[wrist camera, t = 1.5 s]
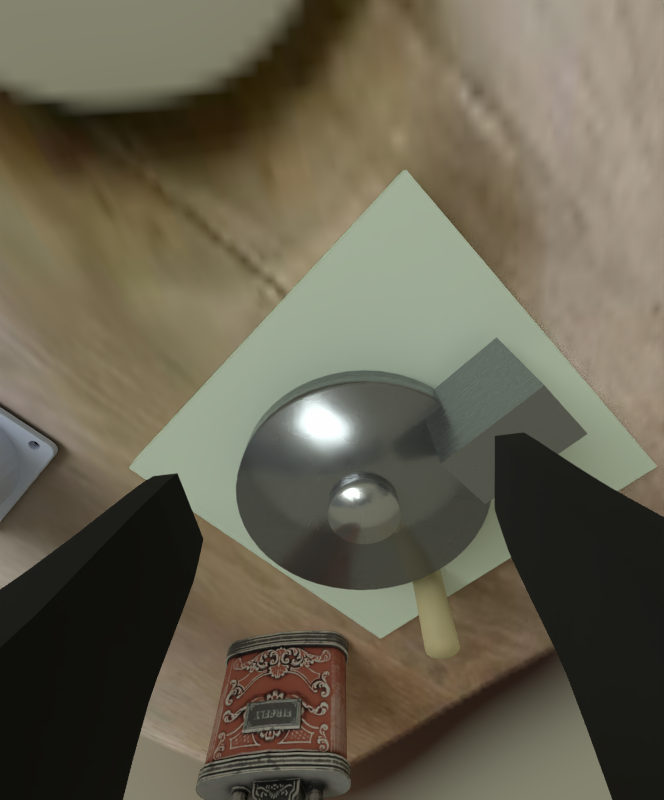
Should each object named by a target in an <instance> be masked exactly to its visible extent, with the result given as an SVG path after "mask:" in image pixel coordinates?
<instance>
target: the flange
mask: <svg viewBox="0 0 664 800" xmlns="http://www.w3.org/2000/svg"><path fill="white" fill-rule="evenodd" d="M523 432H524V433H526V434H528V435H529V436H531V437H532V438H534V439H536V440H537V441H539V442H540V443H542V444H543V445H545V446H546V447H548V448H549V449H551V450H552V451H554V452H555V453H557V454H559V453H561V452H562V451H563V450H565V449H566V448H568V447H569V446H571V445H572V444H574V443H575V442H577V441H578V440H580V439H581V438H582V437H584V436H585V435H587V434H588V433H587V432H586V431H585V430H584V429H583V428H582V427H581V426H580V425H579V423H578V422H577V421H576V420H575V419H574V418H573V417H572V416H571V414H570V413H569V412H568V411H567V410H566V409H565V408H564V407H563V406H562V404H561V403H560V402H559V401H558V400H557V399H556V398H555V397H554V395H553V394H552V393H551V392H550V391H549V390H548V389H547V388H546V387H545V385H544V384H543V383H542V382H541V381H540V380H539V379H538V378H537V377H536V376H535V375H534V374H533V373H532V372H531V371H530V370H529V369H528V368H527V367H526V366H525V365H524V364H523V363H522V362H521V361H520V360H519V359H518V358H517V357H516V356H515V355H514V354H513V353H512V352H511V351H510V350H509V349H508V348H507V347H506V346H505V345H504V344H503V343H502V342H501V341H500V340H499V339H498V338H497V337H496V338H495V339H494V340H493V341H491V342H490V343H489V344H488V345H487V346H485V347H484V348H483V349H482V350H481V351H479V352H478V353H477V354H476V355H475V356H473V357H472V358H471V359H470V360H469V361H467V362H466V363H465V364H464V365H463V366H461V367H460V368H459V369H458V370H457V371H455V372H454V373H453V374H452V375H451V376H449V377H448V378H447V379H446V380H445V381H443V382H442V383H441V384H440V385H439V386H437V387H436V388H435V389H434V388H432V387H431V386H428V385H426V384H424V383H422V382H420V381H418V380H415V379H412V378H409V377H406V376H403V375H400V374H395V373H389V372H383V371H369V370H360V371H346V372H341V373H335V374H330V375H327V376H323V377H320V378H317V379H314V380H311V381H309V382H307V383H305V384H303V385H301V386H299V387H297V388H295V389H293V390H292V391H290V392H289V393H287V394H286V395H284V396H283V397H282V398H280V399H279V400H278V401H277V402H276V403H274V404H273V405H272V406H271V407H270V408H269V409H268V410H267V412H266V413H265V414H264V415H263V416H262V417H261V419H260V420H259V422H258V423H257V425H256V426H255V428H254V429H253V431H252V434H251V436H250V438H249V440H248V443H247V445H246V448H245V451H244V454H243V457H242V460H241V463H240V467H239V470H238V474H237V482H236V499H237V505H238V510H239V514H240V517H241V519H242V522H243V524H244V527H245V528H246V530H247V532H248V534H249V535H250V537H251V539H252V540H253V541H254V542H255V544H256V545H257V546H258V548H259V549H260V550H261V551H262V552H263V553H264V554H265V555H266V556H267V557H268V558H270V559H271V560H272V561H274V562H275V563H276V564H277V565H279V566H280V567H282V568H283V569H285V570H287V571H288V572H290V573H292V574H294V575H296V576H298V577H300V578H303V579H305V580H308V581H311V582H314V583H316V584H320V585H324V586H328V587H333V588H340V589H348V590H376V589H383V588H391V587H395V586H399V585H404V584H407V583H410V582H413V581H416V580H419V579H421V578H423V577H426V576H428V575H430V574H432V573H434V572H436V571H437V570H439V569H441V568H442V567H444V566H446V565H447V564H448V563H450V562H451V561H452V560H454V559H455V558H456V557H457V556H458V555H460V554H461V553H462V552H463V551H464V550H465V549H466V548H467V547H468V546H469V544H470V543H471V542H472V541H473V540H474V538H475V537H476V535H477V534H478V532H479V531H480V529H481V527H482V526H483V523H484V521H485V519H486V516H487V514H488V511H489V507H490V503H491V500H492V499H494V498H495V436H498V435H506V434H514V433H523Z"/></svg>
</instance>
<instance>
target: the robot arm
mask: <svg viewBox="0 0 664 800" xmlns="http://www.w3.org/2000/svg"><path fill="white" fill-rule="evenodd" d="M34 441H35V442H37V443H38V444H39V445H37V444H35V443H34ZM57 452H58V448H57V446H56V444H55V443H53V442H52V441H51V440H49V439H48V438H46V437H45V436H43V435H42V434H40V433H39V432H37V431H36V430H34V429H33V428H31V427H29V426H28V425H26V424H25V423H23V422H22V421H20V420H19V419H17V418H16V417H14V416H13V415H11V414H10V413H8V412H7V411H5V410H4V409H2V408H1V407H0V522H1V521H2V519H3V518H4V517H5V516H6V515H7V513H8V512H9V511H10V510H11V508H12V507H13V506H14V505H15V504H16V502H17V501H18V500H19V499H20V498H21V496H22V495H23V494H24V493H25V491H26V490H27V489H28V488H29V487H30V485H31V484H32V483H33V482H34V481H35V479H36V478H37V477H38V476H39V474H40V473H41V472H42V471H43V470H44V468H45V467H46V466H47V465H48V464H49V462H50V461H51V460H52V459H53V457H54V456H55V455H56V454H57ZM495 512H496V515H497V519H498V522H499V525H500V528H501V531H502V534H503V537H504V540H505V543H506V545H507V548H508V551H509V553H510V555H511V558H512V560H513V562H514V564H515V566H516V568H517V570H518V572H519V575H520V577H521V579H522V581H523V583H524V585H525V587H526V589H527V591H528V593H529V595H530V598H531V600H532V602H533V604H534V606H535V608H536V610H537V612H538V614H539V616H540V618H541V620H542V622H543V624H544V627H545V629H546V631H547V633H548V635H549V637H550V639H551V641H552V643H553V645H554V647H555V649H556V651H557V654H558V656H559V658H560V661H561V663H562V665H563V667H564V670H565V672H566V674H567V677H568V679H569V682H570V685H571V687H572V690H573V693H574V695H575V698H576V700H577V703H578V706H579V709H580V711H581V714H582V717H583V719H584V722H585V725H586V727H587V730H588V733H589V735H590V738H591V741H592V744H593V746H594V749H595V752H596V755H597V758H598V761H599V763H600V766H601V769H602V772H603V774H604V777H605V780H606V783H607V786H608V788H609V791H610V794H611V797H612V800H664V517H662V516H661V515H659V514H657V513H655V512H653V511H651V510H650V509H648V508H646V507H644V506H642V505H641V504H639V503H637V502H635V501H633V500H632V499H630V498H628V497H626V496H624V495H623V494H621V493H619V492H618V491H616V490H614V489H613V488H611V487H609V486H608V485H606V484H604V483H603V482H601V481H599V480H598V479H596V478H594V477H593V476H591V475H590V474H588V473H586V472H585V471H583V470H582V469H580V468H579V467H577V466H575V465H574V464H572V463H571V462H569V461H568V460H566V459H565V458H563V457H562V456H560V455H558V454H557V453H555V452H554V451H552V450H551V449H549V448H548V447H546V446H545V445H543V444H542V443H540V442H539V441H537V440H536V439H534V438H532V437H531V436H529V435H528V434H526V433H524V432H523V433H514V434H506V435H498V436H495ZM202 543H203V537H202V534H201V532H200V529H199V527H198V524H197V522H196V519H195V517H194V514H193V511H192V509H191V506H190V504H189V501H188V499H187V496H186V494H185V491H184V488H183V486H182V483H181V481H180V478H179V476H178V473H175V474H167V475H158V476H152V477H151V478H149V479H148V480H146V481H145V482H143V483H142V484H140V485H139V486H138V487H136V488H135V489H134V490H132V491H131V492H130V493H128V494H127V495H126V496H124V497H123V498H122V499H121V500H119V501H118V502H117V503H116V504H114V505H113V506H112V507H110V508H109V509H108V510H107V511H105V512H104V513H103V514H102V515H100V516H99V517H98V518H96V519H95V520H94V521H93V522H91V523H90V524H89V525H88V526H86V527H85V528H84V529H82V530H81V531H80V532H79V533H77V534H76V535H75V536H74V537H72V538H71V539H70V540H68V541H67V542H66V543H64V544H63V545H61V546H60V547H59V548H57V549H56V550H55V551H53V552H52V553H51V554H49V555H48V556H47V557H45V558H44V559H43V560H41V561H40V562H39V563H37V564H36V565H34V566H33V567H32V568H30V569H29V570H28V571H26V572H25V573H24V574H22V575H21V576H19V577H18V578H16V579H15V580H14V581H12V582H11V583H9V584H8V585H6V586H5V587H3V588H2V589H0V800H123V797H124V793H125V789H126V785H127V781H128V776H129V773H130V769H131V765H132V761H133V756H134V753H135V750H136V746H137V742H138V739H139V735H140V732H141V728H142V725H143V721H144V717H145V714H146V710H147V707H148V703H149V700H150V697H151V694H152V691H153V688H154V685H155V682H156V679H157V677H158V674H159V671H160V669H161V666H162V664H163V661H164V658H165V656H166V653H167V650H168V648H169V645H170V643H171V640H172V637H173V635H174V632H175V630H176V627H177V624H178V622H179V619H180V616H181V614H182V611H183V608H184V606H185V603H186V600H187V598H188V595H189V592H190V589H191V587H192V584H193V581H194V577H195V573H196V569H197V565H198V561H199V557H200V552H201V547H202Z"/></svg>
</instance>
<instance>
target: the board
mask: <svg viewBox="0 0 664 800" xmlns="http://www.w3.org/2000/svg"><path fill="white" fill-rule="evenodd" d="M496 337H497V338H498V339H499V340H500V341H501V342H502V343H503V344H504V345H505V346H506V347H507V348H508V349H509V350H510V351H511V352H512V353H513V354H514V355H515V356H516V357H517V358H518V359H519V360H520V361H521V362H522V363H523V364H524V365H525V366H526V367H527V368H528V369H529V370H530V371H531V372H532V373H533V374H534V375H535V376H536V377H537V378H538V379H539V380H540V381H541V382H542V383H543V384H544V385H545V387H546V388H547V389H548V390H549V391H550V392H551V393H552V394H553V395H554V397H555V398H556V399H557V400H558V401H559V402H560V403H561V404H562V406H563V407H564V408H565V409H566V410H567V411H568V412H569V413H570V414H571V416H572V417H573V418H574V419H575V420H576V421H577V422H578V423H579V425H580V426H581V427H582V428H583V429H584V430H585V431H586V432H587V433H588V434H587V435H585V436H584V437H582V438H581V439H580V440H578V441H577V442H575V443H574V444H572V445H571V446H569V447H568V448H566V449H565V450H563V451H562V452H561V453H559V454H558V455H560V456H562V457H563V458H565V459H566V460H568V461H569V462H571V463H572V464H574V465H575V466H577V467H579V468H580V469H582V470H583V471H585V472H586V473H588V474H590V475H591V476H593V477H594V478H596V479H598V480H599V481H601V482H603V483H604V484H606V485H608V486H609V487H611V488H613V489H614V490H616V491H619V490H620V489H622V488H624V487H625V486H627V485H628V484H630V483H632V482H633V481H635V480H636V479H638V478H640V477H641V476H643V475H644V474H646V473H648V472H649V471H651V470H652V469H654V468H656V467H657V466H656V464H655V463H654V462H653V461H652V460H651V458H650V457H649V456H648V455H647V454H646V453H645V451H644V450H643V449H642V448H641V447H640V445H639V444H638V443H637V442H636V441H635V440H634V438H633V437H632V436H631V435H630V434H629V432H628V431H627V430H626V429H625V428H624V427H623V425H622V424H621V423H620V422H619V421H618V419H617V418H616V417H615V416H614V415H613V414H612V412H611V411H610V410H609V409H608V408H607V406H606V405H605V404H604V403H603V402H602V401H601V399H600V398H599V397H598V396H597V395H596V393H595V392H594V391H593V390H592V389H591V388H590V386H589V385H588V384H587V383H586V382H585V380H584V379H583V378H582V377H581V376H580V375H579V373H578V372H577V371H576V370H575V369H574V367H573V366H572V365H571V364H570V363H569V362H568V360H567V359H566V358H565V357H564V356H563V354H562V353H561V352H560V351H559V350H558V349H557V347H556V346H555V345H554V344H553V343H552V341H551V340H550V339H549V338H548V337H547V336H546V334H545V333H544V332H543V331H542V330H541V328H540V327H539V326H538V325H537V324H536V323H535V321H534V320H533V319H532V318H531V317H530V315H529V314H528V313H527V312H526V311H525V310H524V308H523V307H522V306H521V305H520V304H519V302H518V301H517V300H516V299H515V298H514V297H513V295H512V294H511V293H510V292H509V291H508V289H507V288H506V287H505V286H504V285H503V284H502V282H501V281H500V280H499V279H498V278H497V276H496V275H495V274H494V273H493V272H492V271H491V269H490V268H489V267H488V266H487V265H486V263H485V262H484V261H483V260H482V259H481V258H480V256H479V255H478V254H477V253H476V252H475V250H474V249H473V248H472V247H471V246H470V245H469V243H468V242H467V241H466V240H465V239H464V237H463V236H462V235H461V234H460V233H459V232H458V230H457V229H456V228H455V227H454V226H453V224H452V223H451V222H450V221H449V220H448V219H447V217H446V216H445V215H444V214H443V213H442V211H441V210H440V209H439V208H438V207H437V206H436V204H435V203H434V202H433V201H432V200H431V198H430V197H429V196H428V195H427V194H426V193H425V191H424V190H423V189H422V188H421V187H420V185H419V184H418V183H417V182H416V181H415V180H414V178H413V177H412V176H411V175H410V174H409V172H408V171H407V170H403V171H402V172H401V173H400V174H399V175H398V176H397V177H396V178H395V179H394V180H393V181H392V182H391V184H390V185H389V186H388V187H387V188H386V189H385V190H384V191H383V192H382V193H381V194H380V195H379V196H378V198H377V199H376V200H375V201H374V202H373V203H372V204H371V205H370V206H369V207H368V208H367V209H366V210H365V212H364V213H363V214H362V215H361V216H360V217H359V218H358V219H357V220H356V221H355V222H354V223H353V224H352V226H351V227H350V228H349V229H348V230H347V231H346V232H345V233H344V234H343V235H342V236H341V237H340V238H339V240H338V241H337V242H336V243H335V244H334V245H333V246H332V247H331V248H330V249H329V250H328V251H327V252H326V254H325V255H324V256H323V257H322V258H321V259H320V260H319V261H318V262H317V263H316V264H315V265H314V266H313V268H312V269H311V270H310V271H309V272H308V273H307V274H306V275H305V276H304V277H303V278H302V279H301V280H300V282H299V283H298V284H297V285H296V286H295V287H294V288H293V289H292V290H291V291H290V292H289V293H288V294H287V296H286V297H285V298H284V299H283V300H282V301H281V302H280V303H279V304H278V305H277V306H276V307H275V308H274V310H273V311H272V312H271V313H270V314H269V315H268V316H267V317H266V318H265V319H264V320H263V321H262V322H261V324H260V325H259V326H258V327H257V328H256V329H255V330H254V331H253V332H252V333H251V334H250V335H249V336H248V338H247V339H246V340H245V341H244V342H243V343H242V344H241V345H240V346H239V347H238V348H237V349H236V350H235V352H234V353H233V354H232V355H231V356H230V357H229V358H228V359H227V360H226V361H225V362H224V363H223V364H222V366H221V367H220V368H219V369H218V370H217V371H216V372H215V373H214V374H213V375H212V376H211V377H210V378H209V380H208V381H207V382H206V383H205V384H204V385H203V386H202V387H201V388H200V389H199V390H198V391H197V392H196V394H195V395H194V396H193V397H192V398H191V399H190V400H189V401H188V402H187V403H186V404H185V405H184V406H183V408H182V409H181V410H180V411H179V412H178V413H177V414H176V415H175V416H174V417H173V418H172V419H171V420H170V422H169V423H168V424H167V425H166V426H165V427H164V428H163V429H162V430H161V431H160V432H159V433H158V434H157V436H156V437H155V438H154V439H153V440H152V441H151V442H150V443H149V444H148V445H147V446H146V447H145V448H144V450H143V451H142V452H141V453H140V454H139V455H138V456H137V457H136V459H135V460H134V461H133V463H132V464H131V466H130V467H129V469H131V470H132V471H134V472H135V473H137V474H138V475H140V476H141V477H143V478H144V479H146V480H148V479H149V478H151V477H152V476H158V475H167V474H175V473H178V476H179V478H180V481H181V483H182V486H183V488H184V491H185V494H186V496H187V499H188V501H189V504H190V506H191V509H192V511H193V512H194V513H196V514H197V515H199V516H200V517H202V518H203V519H205V520H206V521H208V522H209V523H211V524H212V525H213V526H215V527H216V528H218V529H219V530H221V531H222V532H224V533H225V534H227V535H228V536H230V537H231V538H233V539H234V540H236V541H237V542H239V543H240V544H242V545H243V546H244V547H246V548H247V549H249V550H250V551H252V552H253V553H255V554H256V555H258V556H259V557H261V558H262V559H264V560H265V561H267V562H268V563H270V564H271V565H272V566H274V567H275V568H277V569H278V570H280V571H281V572H283V573H284V574H286V575H287V576H289V577H290V578H292V579H293V580H295V581H296V582H298V583H299V584H300V585H302V586H303V587H305V588H306V589H308V590H309V591H311V592H312V593H314V594H315V595H317V596H318V597H320V598H321V599H323V600H324V601H326V602H327V603H329V604H330V605H331V606H333V607H334V608H336V609H337V610H339V611H340V612H342V613H343V614H345V615H346V616H348V617H349V618H351V619H352V620H354V621H355V622H357V623H358V624H359V625H361V626H362V627H364V628H365V629H367V630H368V631H370V632H371V633H373V634H374V635H376V636H377V637H379V638H380V639H381V638H383V637H384V636H386V635H387V634H389V633H391V632H392V631H394V630H395V629H397V628H399V627H400V626H402V625H404V624H405V623H407V622H408V621H410V620H412V619H413V618H415V617H416V616H418V615H419V620H420V625H421V630H422V636H423V641H424V647H425V652H426V653H427V655H429V656H430V657H432V658H435V659H447V658H450V657H453V656H454V655H456V654H457V653H458V652H459V650H460V644H459V640H458V637H457V633H456V629H455V625H454V621H453V617H452V613H451V609H450V606H449V602H448V598H447V597H448V596H450V595H452V594H453V593H455V592H457V591H458V590H460V589H461V588H463V587H465V586H466V585H468V584H469V583H471V582H473V581H474V580H476V579H477V578H479V577H481V576H482V575H484V574H485V573H487V572H489V571H490V570H492V569H493V568H495V567H497V566H498V565H500V564H501V563H503V562H505V561H506V560H508V559H509V558H511V555H510V553H509V551H508V548H507V545H506V543H505V540H504V537H503V534H502V531H501V528H500V525H499V522H498V519H497V515H496V512H495V498H494V499H492V500H491V503H490V507H489V511H488V514H487V516H486V519H485V521H484V523H483V526H482V527H481V529H480V531H479V532H478V534H477V535H476V537H475V538H474V540H473V541H472V542H471V543H470V544H469V546H468V547H467V548H466V549H465V550H464V551H463V552H462V553H461V554H460V555H458V556H457V557H456V558H455V559H454V560H452V561H451V562H450V563H448V564H447V565H446V566H444V567H442V568H441V569H439V570H437V571H436V572H434V573H432V574H430V575H428V576H426V577H423V578H421V579H419V580H416V581H413V582H410V583H407V584H404V585H399V586H395V587H391V588H383V589H376V590H348V589H340V588H333V587H328V586H324V585H320V584H316V583H314V582H311V581H308V580H305V579H303V578H300V577H298V576H296V575H294V574H292V573H290V572H288V571H287V570H285V569H283V568H282V567H280V566H279V565H277V564H276V563H275V562H274V561H272V560H271V559H270V558H268V557H267V556H266V555H265V554H264V553H263V552H262V551H261V550H260V549H259V548H258V546H257V545H256V544H255V542H254V541H253V540H252V539H251V537H250V535H249V534H248V532H247V530H246V528H245V527H244V524H243V522H242V519H241V517H240V514H239V510H238V505H237V499H236V482H237V474H238V470H239V467H240V463H241V460H242V457H243V454H244V451H245V448H246V445H247V443H248V440H249V438H250V436H251V434H252V431H253V429H254V428H255V426H256V425H257V423H258V422H259V420H260V419H261V417H262V416H263V415H264V414H265V413H266V412H267V410H268V409H269V408H270V407H271V406H272V405H273V404H274V403H276V402H277V401H278V400H279V399H280V398H282V397H283V396H284V395H286V394H287V393H289V392H290V391H292V390H293V389H295V388H297V387H299V386H301V385H303V384H305V383H307V382H309V381H311V380H314V379H317V378H320V377H323V376H327V375H330V374H335V373H341V372H346V371H360V370H369V371H383V372H389V373H395V374H400V375H403V376H406V377H409V378H412V379H415V380H418V381H420V382H422V383H424V384H426V385H428V386H431V387H432V388H434V389H435V388H436V387H437V386H439V385H440V384H441V383H442V382H443V381H445V380H446V379H447V378H448V377H449V376H451V375H452V374H453V373H454V372H455V371H457V370H458V369H459V368H460V367H461V366H463V365H464V364H465V363H466V362H467V361H469V360H470V359H471V358H472V357H473V356H475V355H476V354H477V353H478V352H479V351H481V350H482V349H483V348H484V347H485V346H487V345H488V344H489V343H490V342H491V341H493V340H494V339H495V338H496Z"/></svg>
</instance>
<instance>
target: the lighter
mask: <svg viewBox="0 0 664 800" xmlns="http://www.w3.org/2000/svg"><path fill="white" fill-rule="evenodd" d="M347 661H348V642H347V640H346V638H345V637H344V636H343V635H342V634H339V633H337V632H333V631H292V632H279V633H273V634H266V635H260V636H255V637H251V638H247V639H243V640H239V641H236V642H234V643H232V644H231V645H230V646H229V649H228V654H227V658H226V662H225V664H226V668H227V670H226V674H225V679H224V683H223V687H222V692H221V696H220V701H219V705H218V709H217V714H216V718H215V722H214V727H213V731H212V736H211V740H210V744H209V749H208V753H207V757H206V762H205V765H204V766H202V767H201V769H200V773H199V777H198V781H197V786H196V792H197V794H198V795H199V796H200V797H201V798H203V799H204V800H324V798H328V797H334V796H339V795H341V794H344V793H346V792H347V791H348V790H349V789H350V787H351V784H350V783H351V780H350V779H351V778H350V764H349V762H348V760H347V731H346V663H347Z"/></svg>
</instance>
